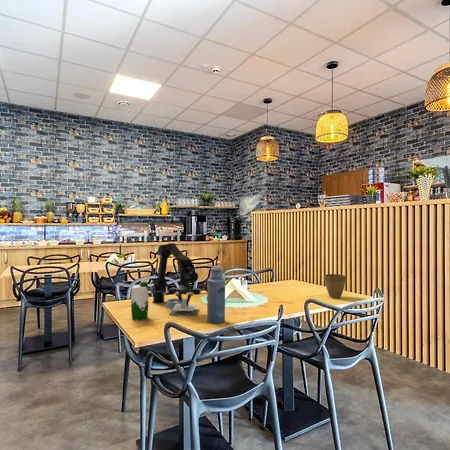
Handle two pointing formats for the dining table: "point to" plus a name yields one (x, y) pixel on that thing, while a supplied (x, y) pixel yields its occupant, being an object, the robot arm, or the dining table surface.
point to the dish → (172, 303)
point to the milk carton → (139, 301)
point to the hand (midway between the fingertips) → (184, 305)
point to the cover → (184, 306)
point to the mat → (185, 312)
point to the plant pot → (335, 284)
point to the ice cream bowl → (205, 284)
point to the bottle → (216, 296)
